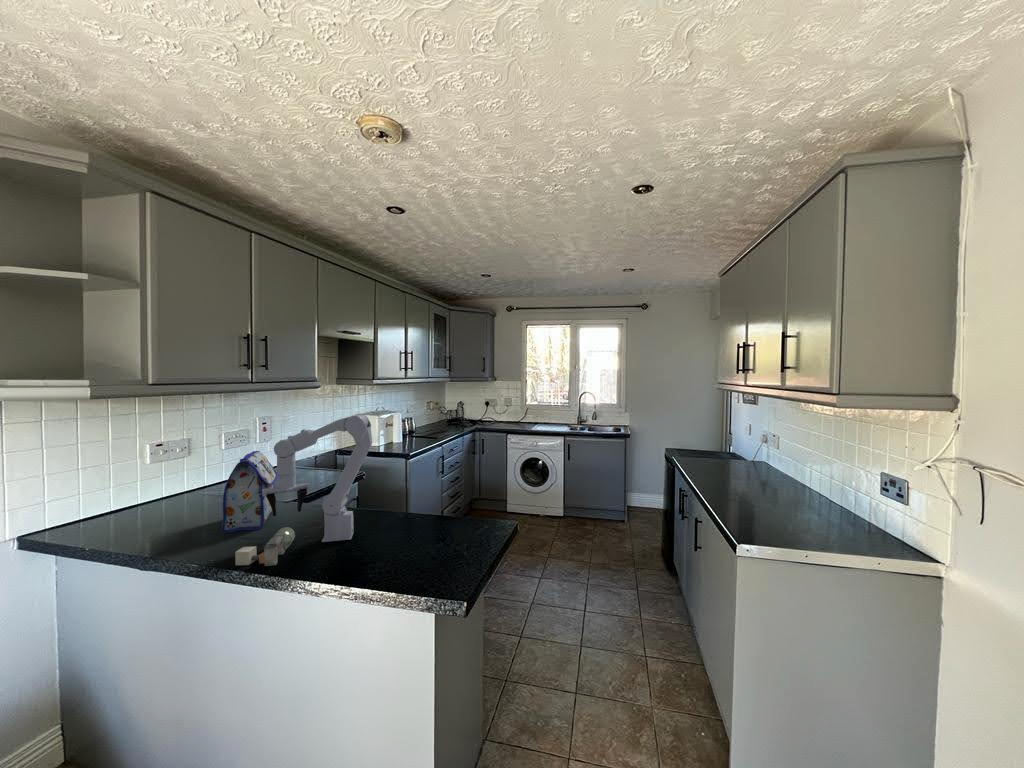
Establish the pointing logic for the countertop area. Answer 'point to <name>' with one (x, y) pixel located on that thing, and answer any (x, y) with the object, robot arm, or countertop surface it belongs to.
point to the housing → (278, 545)
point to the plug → (248, 556)
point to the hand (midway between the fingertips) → (287, 513)
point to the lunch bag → (248, 494)
